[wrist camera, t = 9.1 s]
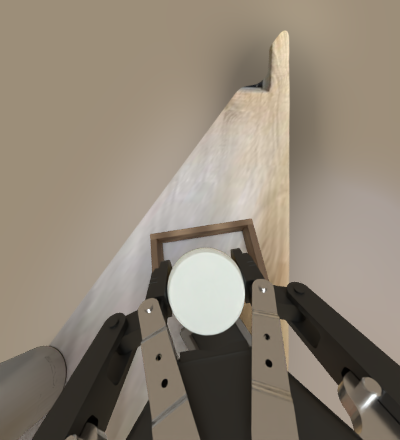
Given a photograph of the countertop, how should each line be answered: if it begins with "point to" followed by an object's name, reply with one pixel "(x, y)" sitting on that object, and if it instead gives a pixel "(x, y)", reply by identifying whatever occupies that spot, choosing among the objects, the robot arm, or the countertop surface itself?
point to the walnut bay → (209, 230)
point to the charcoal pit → (216, 338)
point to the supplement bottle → (206, 291)
